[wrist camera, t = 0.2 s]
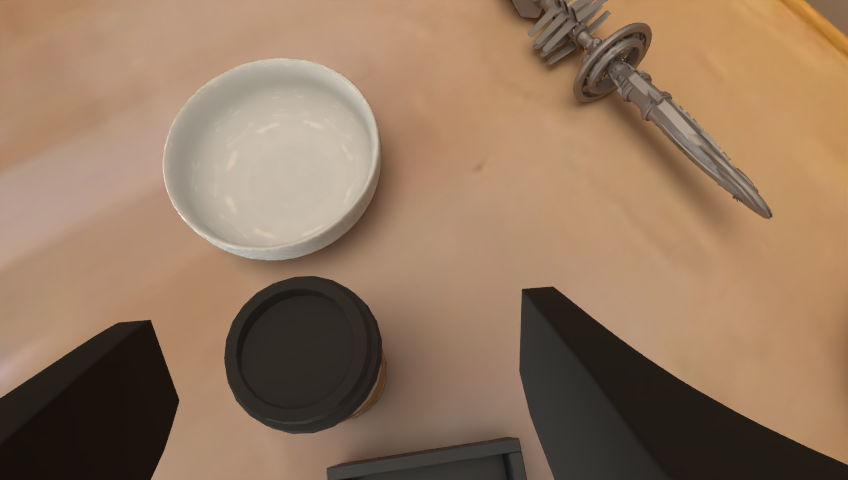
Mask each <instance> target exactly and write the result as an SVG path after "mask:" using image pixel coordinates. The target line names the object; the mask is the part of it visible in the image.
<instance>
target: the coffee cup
mask: <svg viewBox="0 0 848 480" xmlns="http://www.w3.org/2000/svg"><path fill="white" fill-rule="evenodd" d="M224 359H225V367H226V374H227V380H228V384H229V386H230V388H231V390H232V392H233V394H234V396H235V399H236V401H237V402H238V403H239V404H240V405H241V406H242V407H243V408H244V410H245V411H246V412H247V413H248V414H249V415H250V416H251V417H253V418H255V419H256V420H258V421H260V422H261V423H263V424H265V425H266V426H268V427H271V428H272V429H276V430H280V431H284V432H288V433H292V434H299V433H315V432H318V431H321V430H324V429H328V428H331V427H334V426H335V425H337V424H338V423H340V422H343V421H347V420H350V419H353V418H356V417H357V416H359V415H361V414H363V413H364V412H366V411H367V410H369V409H370V408H371V407H372V406H373V405H374V404H375V403H376V402H377V401H378V399H379V397H380V395H381V393H382V391H383V389H384V385H385V381H386V362H385V358H384V354H383V350H382V339H381V335H380V331H379V328H378V324H377V321H376V319H375V318H374V316H373V314H372V312H371V311H370V309H369V307H368V306H367V305H366V304H365V303H364V302H363V301H362V300H361V299H360V298H359V297H358V296H357V295H356V294H355V293H354V292H352V291H351V290H350V289H348V288H346V287H344V286H342V285H341V284H339V283H337V282H335V281H333V280H329V279H325V278H320V277H316V276H306V277H293V278H290V279H287V280H283V281H280V282H277V283H274V284H272V285H270V286H268V287H266V288H265V289H263V290H261V291H259V292H258V293H256V294H255V295H254V296H253V297H252V298H251V299H250V300H249V301H248V302H247V303H246V304H245V305H244V306H243V307H242V308H241V310H240V312H239V313H238V315H237V316H236V318H235V319H234V321H233V322H232V325H231V328H230V331H229V333H228V336H227V339H226V347H225V357H224Z"/></svg>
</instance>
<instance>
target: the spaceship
mask: <svg viewBox="0 0 848 480" xmlns="http://www.w3.org/2000/svg"><path fill="white" fill-rule="evenodd" d="M570 1H571V0H512V2H513V3H514V5H515V7H516V9H517V11H518V13H519V15H520V16H521V17H533V18H538V17H539V15H540V13H541V11H542V9H543V10H545V11H546V12H547V13H546V14H545V15H544V16H543V17H542V18H541V19H540V20H539V22H538V23H537V24H536V25H535V26H534V27H533V28H532V29H531V30H530V31H529V33H528V35H529V36H530V37H532V36H533V35H534V34H535V33H536V32H537V31H538V30H539V29H540V28H541V27H543V26H544V25H545V24H546V23H547V22H548V21H549V20H550V19H552V23H551V24H550V25H549V26H548V27H547V28H546V30H545V31H544V32H543V33H542V34H541V35H540V36H539V37H538V38H537V39H536V41H535V42H536V44H535V45H533V47H534V48H535V49H536V50H537V49H538V48H540V47H541V46H543V45H544V44H546V43H547V42H548V43H547V44H546V45H545V47H544V48H543V50H544V51H542V52H541V53H540V55H541V56H542V57H545V56H546V55H548V54H549V53H551V52H552V51H554V50H555V49H557V48H558V47H560V46H561V45H563V44H564V43H566V42H567V41H569V40H570V39H571V43H570V44H569V45H567V46H566V47H565V48H563V49H562V50H561V51H559V52H558V53H557V54H555V55H554V56H553V57H551V58H550V59H549V60H548V61H547V62H548V63H549V64H550V65H551V64H553V63H554V62H556V61H557V60H559V59H560V58H562V57H563V56H565V55H566V54H568V53H569V52H571V51H572V50H574V49H575V48H577V47H578V49H579V51H580V52H581V53H582V51H583V52H584V47H585V50H587V53H588V54H586V55H585V57H584V58H583V60H582V64H583V66H582V67H581V69H580V71H579V72H578V74H577V77H576V79H575V82H574V88H573V90H574V95H575V98H576V99H577V100H579V101H582V102H591V101H595V100H597V99H600V98H602V97H603V96H605V95H607V94H608V93H610V92H611V91H613V90H614V89H615V88H618V94H619V95H620V97H621V98H623V100H624V101H626V102H631V101H632V102H633V103H634V104H635V105H636V106H637V107H638V108H639V109H640V111H641V116H642V118H643V120H646V121H650V120H651V121H652V122H653V123H654V124H655V125H657V126H658V127H659V128H660V129H661V130H662V132H663V133H664V134H665V135H666V136H667V137H668V138H669V139H670V140H671V141H672V142H673V143H674V144H675V145H676V146H677V147H678V148H679V149H680V150H681V151H682V152H683V153H684V154H685V155H686V156H687V157H688V158H689V159H690V160H691V161H692V162H693V163H694V164H695V165H697V166H698V167H699V168H700V169H701V170H702V171H703V172H705V173H706V174H707V175H708V176H710V177H711V178H712V179H713V180H715V181H716V182H717V183H718V185H719V186H721V187H723V188H724V189H725V190H726V191H728V192H730V193H731V194H732V195H733V198H734V199H737V202H738V200H739V201H740V202H742V203H743V204H744V205H745V206H747V207H748V208H750V209H751V210H752V211H754V212H755V213H757V214H758V215H760V216H761V217H763V218H766V219H770V218H771V217H772V212H771V210H770V208H769V207H768V206H767V204H766V203H765V201H764V200H763V199H762V197H761V196H760V195H759V194H758V190H757V189H756V188H755V186H754V185H753V183H752V182H751V181H750V179H749V178H748V177H747V176H746V175H745V174H744V173H743V172H741V171H740V170H739V169H738V168H736V167H735V166H734V165H733V164H732V163H731V162H730V160H731V159H729V158H728V156H727V155H726V153H724V152H721V151H720V147H719V146H718V145H717V143H716V142H715V141H714V140H713V139H712V138H711V136H710V135H709V134H708V133H707V132H706V131H705V130H704V129H703V128H702V127H701V126H699V125H698V124H697V122H696V120H695V119H694V118H693V119H692V118H691V117H690V115H689V114H688V113H687V112H684V111H683V109H682V108H681V106H678V105H677V104H676V103H675V102H674V101H672V97H671V94H670V93H668V92H662V91H659V90H658V89H657V88H656V87H655V86H654V85H653V84H652V83H651V81H652V79H651V76H650V75H649V74H648V73H646V72H644V71H638V70H636V67H637V66H638V65H639V64H640V62H641V61H642V59H643V58H644V56H645V54H646V52H647V51H648V48H649V46H650V43H651V39H652V33H651V29H650V27H649V26H648V25H647V24H645V23H633V24H629V25H627V26H625V27H623V28H621V29H619V30H618V31H616V32H614V33H613V34H612V35H610V36H609V37H608V38H606V39H604V40H603V42H602V40H601V39H599V38H593V37H592V36H591V34H592V33H593V32H594V31H595V30H596V29H597V28H598V27H599V26H600V25H601V24H602V23H603V22H604V21H605V20H606V19H607V18H608V16H609V15H610V14H611V13H610V12H609V11H605V12H604V13H603V14H602V15H601V16H600V17H599V18H598V19H597V20H596V21H595V22H594V23H593V24H591V25H590V26H589V27H588V28H587V25H586V24H587V23H588V22H589V21H590V20H591V19H592V18H593V17H594V15H595V14H596V13H597V12H598V11H599V10H600V9H601V8H602V7H603V6H602V4H603V3H605V2H606V1H607V0H597V1H596V2H594V3H593V4H591V3H592V2H593V1H594V0H578V1H576V2H575V3H573V4H572V5H570V6H569V7H567V3H569V2H570ZM590 4H591V5H590ZM589 5H590V6H589ZM642 34H643V35H642ZM641 35H642V37H641ZM583 46H584V47H583ZM628 48H629V49H628ZM626 49H627V50H626ZM625 50H626V51H625ZM622 51H624V52H622ZM621 52H622V53H621ZM630 52H631V53H630ZM619 53H620V54H619ZM618 54H619V55H618ZM626 55H627V56H626ZM625 56H626V58H624V57H625ZM622 59H624V60H623V61H622ZM625 60H626V61H625ZM604 73H605V75H606V76H607V77H606V76H604ZM607 74H608V75H607ZM603 76H604V79H603V80H601V79H602V77H603ZM600 77H601V78H600ZM605 77H606V78H605ZM598 78H600V80H601V81H600V80H599V81H598V82H597V79H598ZM607 78H608V79H607ZM598 83H599V84H598ZM587 93H591V94H587Z"/></svg>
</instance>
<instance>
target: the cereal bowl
mask: <svg viewBox="0 0 848 480" xmlns="http://www.w3.org/2000/svg"><path fill="white" fill-rule="evenodd" d="M381 157H382V154H381V140H380V135H379V129H378V125H377V121H376V119H375V116H374V114H373V111H372V109H371V107H370V105H369V103H368V102H367V100H366V99H365V97H364V96H363V94H362V93H361V92H360V91H359V89H358V88H357V87H356V86H355V85H354V84H353V83H352V82H351V81H349V80H348V79H347V78H346V77H344V76H343V75H342V74H340V73H339V72H337V71H335V70H333V69H331V68H329V67H327V66H324V65H322V64H319V63H316V62H312V61H308V60H303V59H294V58H271V59H263V60H257V61H253V62H249V63H245V64H242V65H239V66H237V67H234V68H232V69H230V70H228V71H225V72H224V73H222V74H220V75H218V76H216V77H215V78H213V79H212V80H210V81H209V82H207V83H206V84H205V85H204V86H202V87H201V88H200V89H199V90H198V91H197V92H196V93H194V94H193V95H192V97H191V98H190V99H189V100H188V101H187V102H186V103H185V104H184V106H183V107H182V109H181V110H180V111H179V113H178V114H177V116H176V118H175V120H174V121H173V123H172V126H171V128H170V130H169V133H168V136H167V140H166V143H165V147H164V154H163V176H164V182H165V186H166V189H167V192H168V195H169V197H170V200H171V202H172V204H173V205H174V207H175V209H176V210H177V212H178V213H179V215H180V216H181V217H182V218H183V219H184V221H185V222H186V223H187V224H188V225H189V226H190V227H191V228H192V229H193V230H194V231H195V232H196V233H198V234H199V235H200V236H202V237H203V238H204V239H206V240H208V241H209V242H210V243H212V244H214V245H216V246H217V247H219V248H221V249H223V250H226V251H227V252H230V253H233V254H236V255H238V256H243V257H247V258H252V259H260V260H268V261H270V260H274V261H275V260H285V259H291V258H297V257H300V256H304V255H308V254H310V253H312V252H315V251H317V250H320V249H322V248H324V247H326V246H327V245H329V244H331V243H332V242H334V241H336V240H337V239H338V238H340V237H341V236H342V235H343V234H345V233H346V232H347V231H348V230H349V229H351V228H352V226H353V225H354V224H355V223H356V222H357V221H358V220H359V219H360V217H361V215H363V213H364V212H365V210H366V208H367V206H368V205H369V204H370V202H371V200H372V197H373V195H374V194H375V190H376V187H377V183H378V179H379V176H380V169H381V160H382V158H381Z"/></svg>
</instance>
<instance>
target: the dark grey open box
mask: <svg viewBox="0 0 848 480" xmlns="http://www.w3.org/2000/svg"><path fill="white" fill-rule="evenodd" d="M327 480H527V477H526V472H525V467H524V462H523V457H522V452H521V446H520V441H519V438H512V437H506V438H500V439H494V440H487V441H481V442H474V443H468V444H462V445H455V446H449V447H443V448H436V449H430V450H424V451H417V452H411V453H404V454H398V455H392V456H385V457H379V458H373V459H366V460H360V461H354V462H347V463H341V464H338V465H335V466H332V467H329V468H327Z"/></svg>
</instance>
